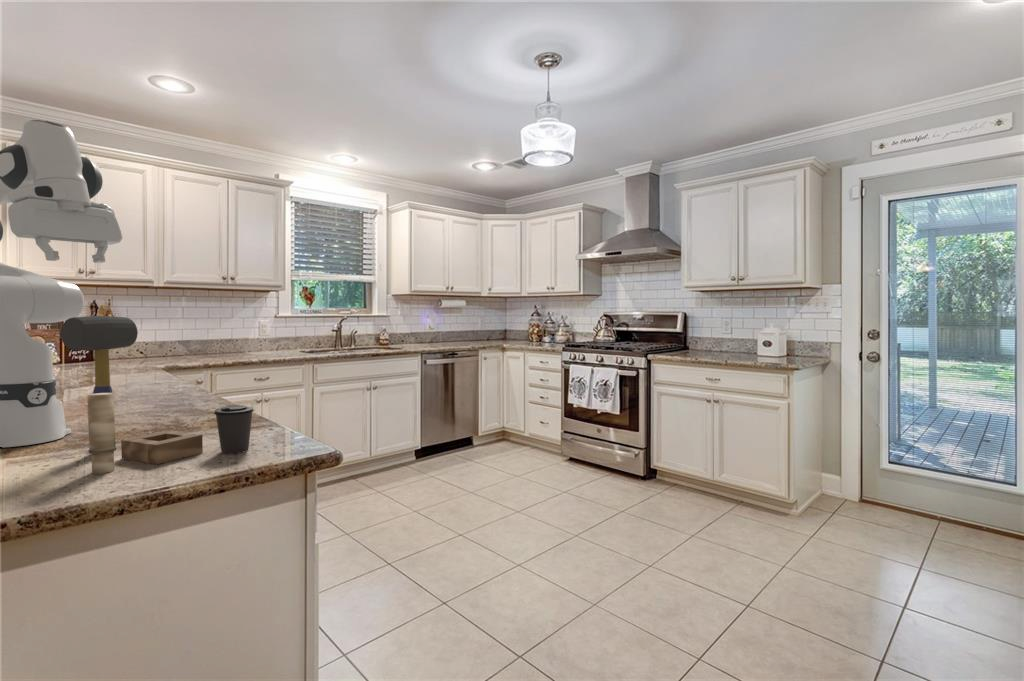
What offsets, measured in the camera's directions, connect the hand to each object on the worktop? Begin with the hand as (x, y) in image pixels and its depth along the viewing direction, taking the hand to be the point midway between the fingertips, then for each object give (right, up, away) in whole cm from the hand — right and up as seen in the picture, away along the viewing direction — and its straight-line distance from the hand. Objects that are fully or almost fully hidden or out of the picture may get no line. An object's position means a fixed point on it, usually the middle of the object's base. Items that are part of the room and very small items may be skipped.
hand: (77, 261), depth 113 cm
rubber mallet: (+5, -42, +2) cm, 42 cm away
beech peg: (+15, -43, -12) cm, 47 cm away
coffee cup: (+32, -42, +4) cm, 53 cm away
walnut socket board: (+19, -42, -1) cm, 46 cm away
